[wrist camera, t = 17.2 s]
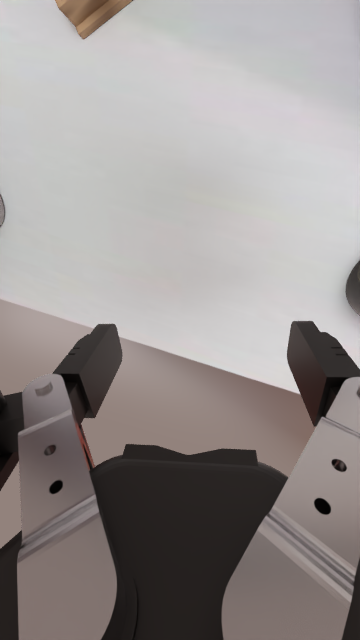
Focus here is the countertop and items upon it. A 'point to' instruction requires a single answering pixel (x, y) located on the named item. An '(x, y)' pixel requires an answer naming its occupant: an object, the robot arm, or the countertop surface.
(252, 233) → the countertop surface
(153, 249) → the countertop surface
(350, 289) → the jar
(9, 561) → the robot arm
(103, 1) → the brown wooden open box
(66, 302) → the countertop surface
